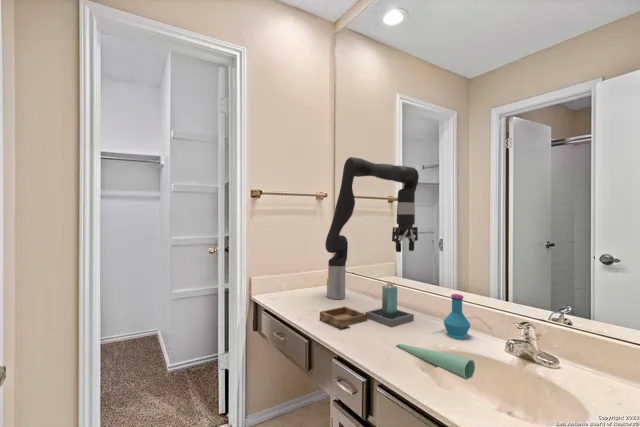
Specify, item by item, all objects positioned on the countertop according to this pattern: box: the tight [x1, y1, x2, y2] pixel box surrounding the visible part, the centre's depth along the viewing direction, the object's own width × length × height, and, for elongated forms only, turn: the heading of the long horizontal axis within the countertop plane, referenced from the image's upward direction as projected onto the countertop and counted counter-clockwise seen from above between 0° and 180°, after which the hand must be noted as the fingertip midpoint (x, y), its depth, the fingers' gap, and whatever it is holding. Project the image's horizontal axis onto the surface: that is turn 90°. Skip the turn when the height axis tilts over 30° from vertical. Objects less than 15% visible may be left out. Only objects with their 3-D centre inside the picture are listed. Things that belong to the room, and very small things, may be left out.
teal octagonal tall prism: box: [381, 281, 398, 319], centre depth 139 cm, size 6×6×16 cm
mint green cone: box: [396, 343, 476, 381], centre depth 103 cm, size 5×6×27 cm
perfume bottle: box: [443, 293, 471, 339], centre depth 125 cm, size 9×9×15 cm
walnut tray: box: [319, 306, 368, 331], centre depth 138 cm, size 14×14×4 cm
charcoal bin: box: [365, 307, 415, 328], centre depth 139 cm, size 14×14×4 cm
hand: (404, 251), depth 142 cm, fingers open, 8 cm apart
